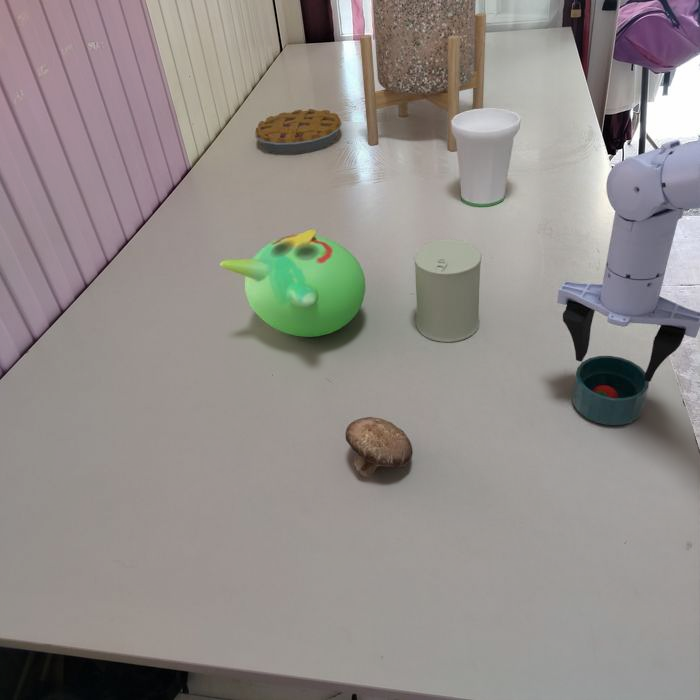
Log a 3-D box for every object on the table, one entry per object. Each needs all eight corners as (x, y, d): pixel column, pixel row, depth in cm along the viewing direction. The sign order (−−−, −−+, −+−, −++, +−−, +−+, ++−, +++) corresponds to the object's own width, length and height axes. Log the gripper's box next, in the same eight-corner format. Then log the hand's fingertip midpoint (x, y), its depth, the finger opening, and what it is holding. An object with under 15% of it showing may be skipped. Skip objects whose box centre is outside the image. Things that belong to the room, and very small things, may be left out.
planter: (457, 152, 144) (457, -9, 124) (366, 146, 153) (353, -5, 133) (484, 118, 159) (488, -30, 139) (400, 114, 168) (392, -25, 148)
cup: (485, 178, 132) (488, 103, 122) (529, 197, 123) (535, 118, 113) (437, 197, 127) (437, 120, 117) (479, 218, 118) (482, 137, 109)
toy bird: (387, 310, 98) (381, 224, 89) (327, 374, 87) (312, 284, 78) (294, 284, 106) (279, 203, 97) (228, 340, 96) (205, 256, 87)
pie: (341, 152, 150) (339, 131, 147) (251, 160, 152) (246, 140, 149) (344, 121, 167) (342, 101, 164) (263, 128, 169) (259, 109, 166)
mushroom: (342, 480, 68) (361, 427, 67) (329, 451, 76) (346, 403, 75) (408, 496, 70) (428, 444, 69) (389, 466, 78) (406, 419, 77)
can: (407, 336, 92) (404, 265, 85) (426, 301, 99) (425, 232, 91) (470, 347, 89) (472, 274, 81) (485, 310, 95) (489, 239, 88)
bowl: (643, 390, 79) (650, 362, 76) (639, 434, 74) (646, 406, 71) (576, 377, 82) (581, 350, 79) (567, 419, 76) (571, 392, 74)
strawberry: (624, 390, 76) (617, 387, 73) (617, 415, 76) (609, 414, 73) (597, 383, 78) (589, 380, 75) (590, 408, 78) (582, 406, 75)
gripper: (552, 268, 67) (541, 367, 75) (704, 302, 59) (672, 407, 68) (575, 238, 71) (562, 334, 79) (719, 266, 64) (688, 369, 72)
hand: (614, 365), depth 74 cm, fingers open, 7 cm apart
